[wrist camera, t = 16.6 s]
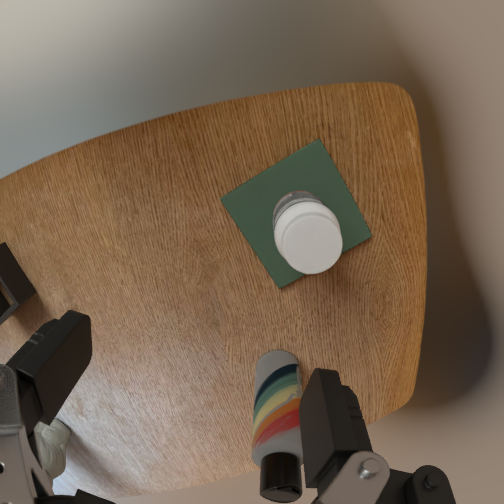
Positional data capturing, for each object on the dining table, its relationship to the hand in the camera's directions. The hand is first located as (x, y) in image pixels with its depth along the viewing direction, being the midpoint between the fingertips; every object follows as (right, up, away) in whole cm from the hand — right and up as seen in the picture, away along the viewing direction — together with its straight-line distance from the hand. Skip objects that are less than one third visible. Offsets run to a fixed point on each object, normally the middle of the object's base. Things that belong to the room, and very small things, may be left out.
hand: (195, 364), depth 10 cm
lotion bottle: (+5, -11, +31) cm, 33 cm away
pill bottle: (+7, +8, +23) cm, 25 cm away
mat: (+7, +8, +24) cm, 26 cm away
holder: (-36, -1, +28) cm, 46 cm away
